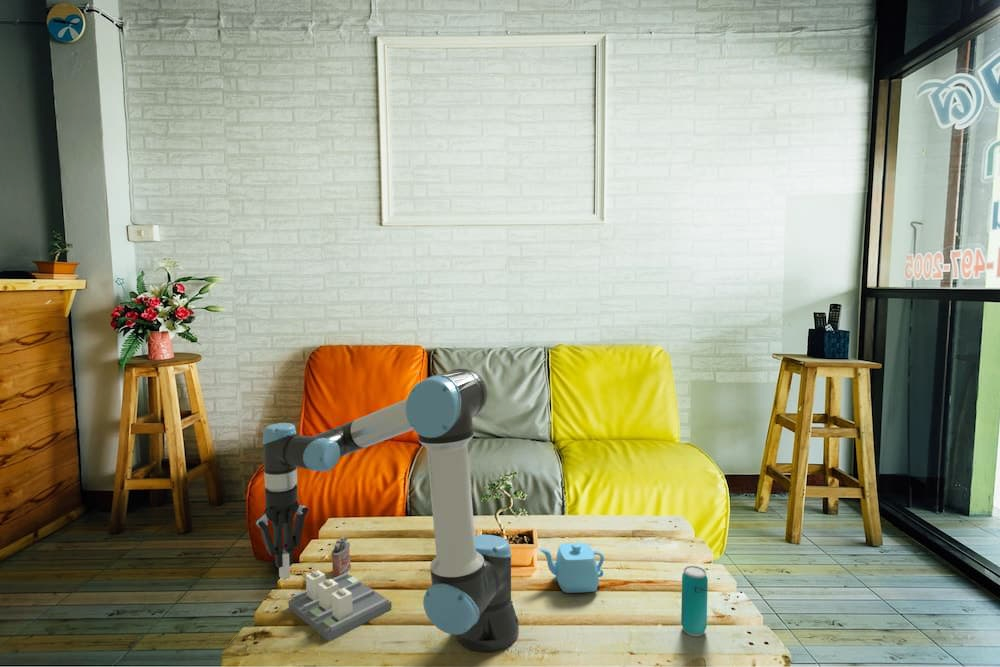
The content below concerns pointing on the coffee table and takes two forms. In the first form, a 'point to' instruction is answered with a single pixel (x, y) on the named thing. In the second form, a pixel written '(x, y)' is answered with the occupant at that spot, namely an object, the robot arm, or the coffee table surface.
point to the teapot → (575, 567)
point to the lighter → (341, 557)
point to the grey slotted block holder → (322, 621)
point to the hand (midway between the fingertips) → (284, 577)
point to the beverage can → (694, 600)
